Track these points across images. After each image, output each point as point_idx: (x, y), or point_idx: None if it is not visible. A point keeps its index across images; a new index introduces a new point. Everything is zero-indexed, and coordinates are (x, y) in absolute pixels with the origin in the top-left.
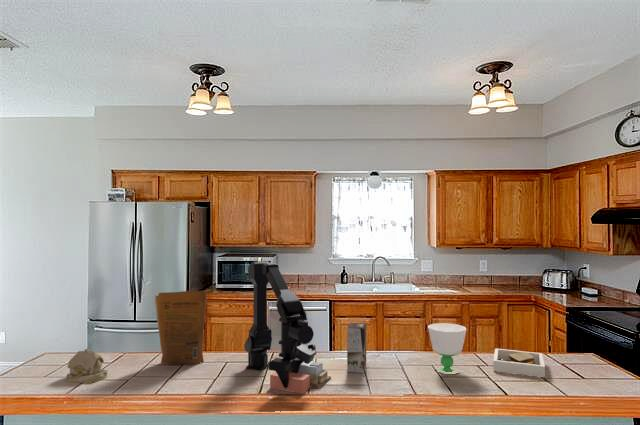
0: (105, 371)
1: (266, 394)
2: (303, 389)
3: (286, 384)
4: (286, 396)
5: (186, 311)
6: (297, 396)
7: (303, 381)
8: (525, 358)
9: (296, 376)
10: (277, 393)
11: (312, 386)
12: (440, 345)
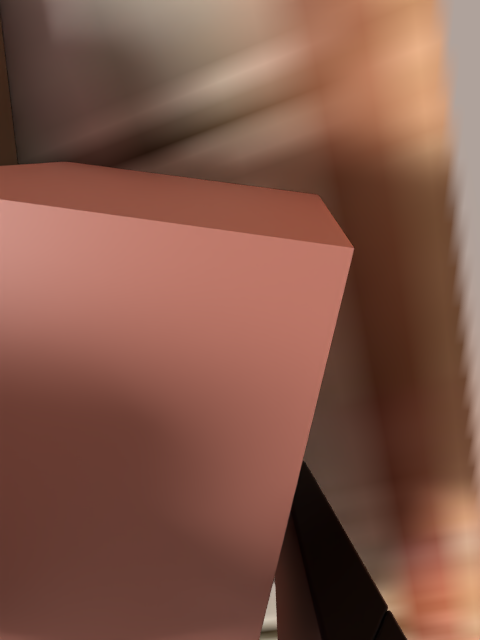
0: None
1: (424, 578)
2: (307, 200)
3: (329, 510)
4: (468, 390)
5: None
6: (457, 245)
7: (314, 232)
8: None
9: (129, 480)
10: (378, 499)
11: (3, 120)
12: None
